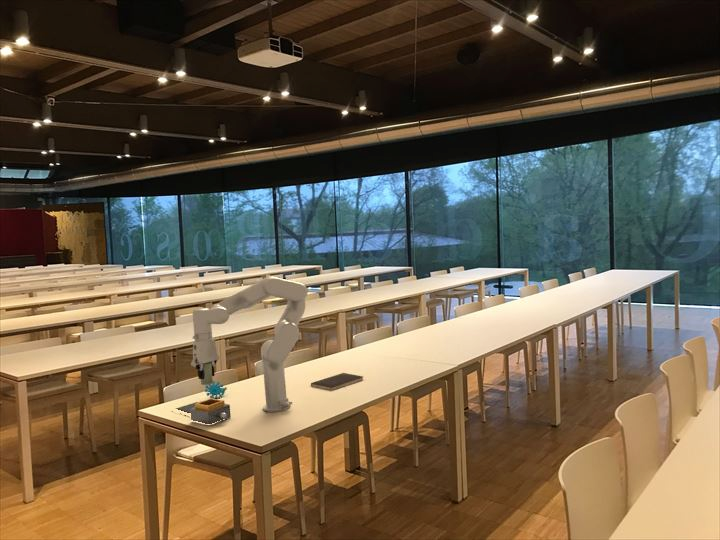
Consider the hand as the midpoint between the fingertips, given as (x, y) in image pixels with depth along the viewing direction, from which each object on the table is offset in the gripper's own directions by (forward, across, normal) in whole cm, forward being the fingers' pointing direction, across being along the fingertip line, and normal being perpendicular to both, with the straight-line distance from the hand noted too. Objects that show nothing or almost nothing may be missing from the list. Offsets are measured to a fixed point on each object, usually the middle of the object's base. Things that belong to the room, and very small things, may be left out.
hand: (206, 376), depth 253 cm
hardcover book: (+20, +70, -16) cm, 75 cm away
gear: (+20, +26, +26) cm, 42 cm away
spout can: (+3, 0, 0) cm, 3 cm away
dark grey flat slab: (+20, +7, +19) cm, 29 cm away
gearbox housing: (+19, 0, -2) cm, 20 cm away
